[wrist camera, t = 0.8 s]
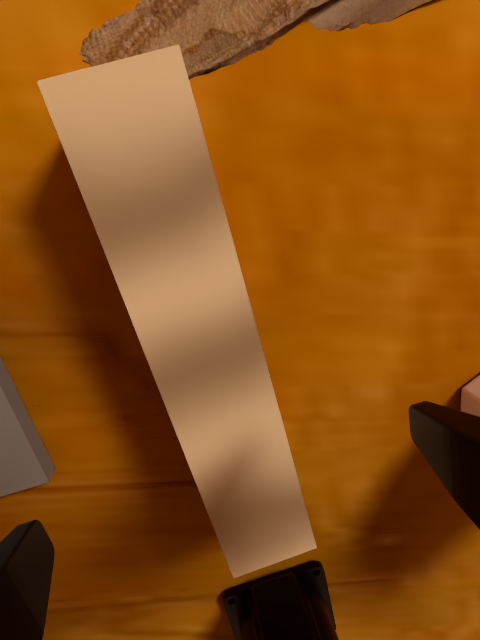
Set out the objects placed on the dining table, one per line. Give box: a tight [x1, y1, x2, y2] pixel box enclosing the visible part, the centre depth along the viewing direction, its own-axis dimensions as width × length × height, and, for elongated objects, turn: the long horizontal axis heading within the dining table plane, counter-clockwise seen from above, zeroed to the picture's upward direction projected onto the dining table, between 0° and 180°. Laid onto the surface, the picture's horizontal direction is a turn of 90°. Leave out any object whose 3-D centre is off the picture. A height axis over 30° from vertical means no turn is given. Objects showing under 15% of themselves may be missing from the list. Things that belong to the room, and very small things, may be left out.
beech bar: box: [37, 44, 317, 578], centre depth 16 cm, size 20×4×5 cm, turn 15°
